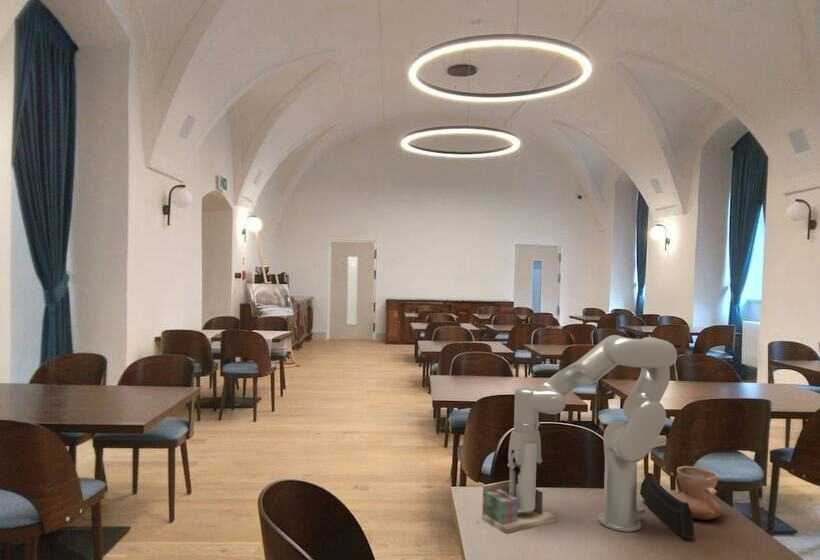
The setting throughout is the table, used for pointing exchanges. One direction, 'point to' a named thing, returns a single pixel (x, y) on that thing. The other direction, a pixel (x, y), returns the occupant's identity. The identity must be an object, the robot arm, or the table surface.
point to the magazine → (667, 507)
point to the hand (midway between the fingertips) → (524, 484)
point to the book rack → (511, 509)
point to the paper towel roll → (525, 479)
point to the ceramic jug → (698, 491)
